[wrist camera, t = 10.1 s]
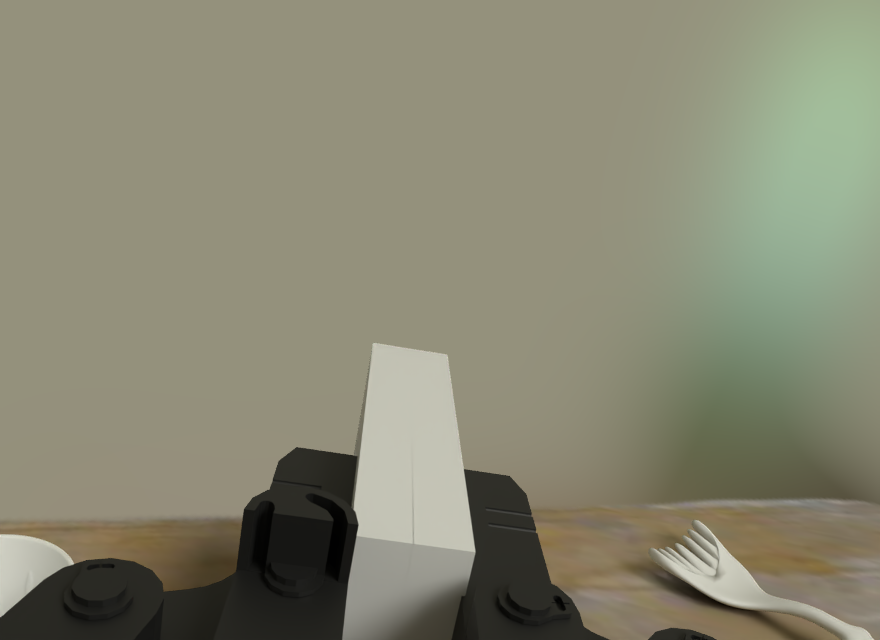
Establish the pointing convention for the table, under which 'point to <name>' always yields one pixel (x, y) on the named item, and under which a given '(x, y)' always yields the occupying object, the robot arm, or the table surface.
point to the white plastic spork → (737, 582)
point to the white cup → (26, 566)
